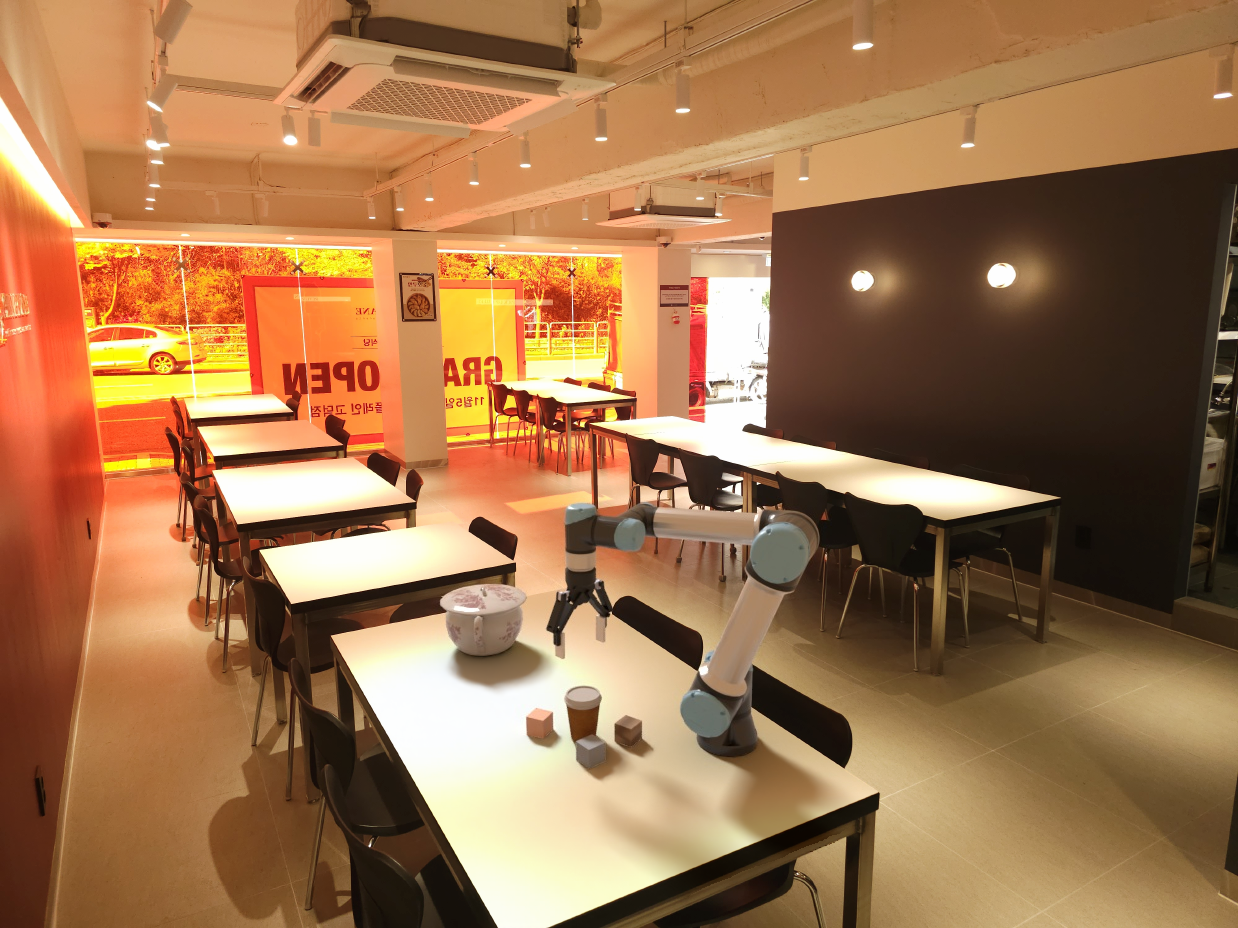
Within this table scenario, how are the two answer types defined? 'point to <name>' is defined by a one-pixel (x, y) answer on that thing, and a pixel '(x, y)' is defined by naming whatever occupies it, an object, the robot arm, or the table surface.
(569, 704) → the disposable coffee cup
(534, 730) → the terracotta cube
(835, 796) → the table surface
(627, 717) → the walnut cube
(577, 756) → the slate grey cube
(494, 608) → the chamber pot
